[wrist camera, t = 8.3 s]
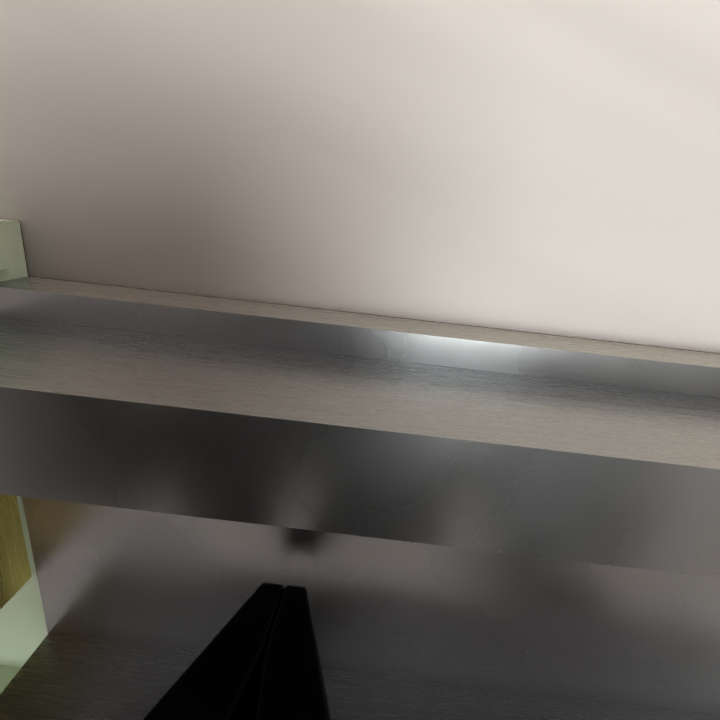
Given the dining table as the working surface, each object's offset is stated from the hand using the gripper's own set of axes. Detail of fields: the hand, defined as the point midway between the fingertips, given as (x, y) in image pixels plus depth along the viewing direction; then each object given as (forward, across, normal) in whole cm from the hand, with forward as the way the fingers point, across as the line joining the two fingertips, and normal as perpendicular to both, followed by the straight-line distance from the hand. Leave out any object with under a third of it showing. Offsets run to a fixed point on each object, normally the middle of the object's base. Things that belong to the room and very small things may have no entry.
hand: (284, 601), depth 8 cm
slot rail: (+2, -3, 0) cm, 4 cm away
